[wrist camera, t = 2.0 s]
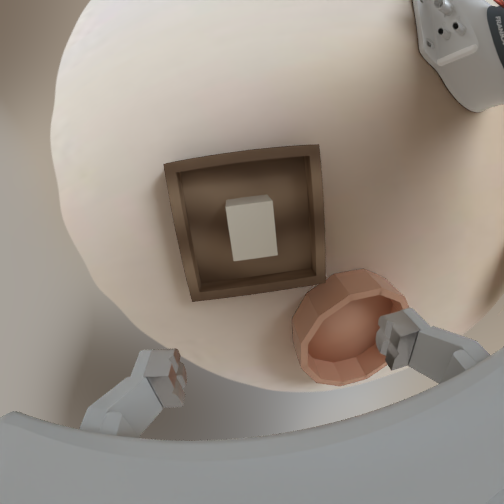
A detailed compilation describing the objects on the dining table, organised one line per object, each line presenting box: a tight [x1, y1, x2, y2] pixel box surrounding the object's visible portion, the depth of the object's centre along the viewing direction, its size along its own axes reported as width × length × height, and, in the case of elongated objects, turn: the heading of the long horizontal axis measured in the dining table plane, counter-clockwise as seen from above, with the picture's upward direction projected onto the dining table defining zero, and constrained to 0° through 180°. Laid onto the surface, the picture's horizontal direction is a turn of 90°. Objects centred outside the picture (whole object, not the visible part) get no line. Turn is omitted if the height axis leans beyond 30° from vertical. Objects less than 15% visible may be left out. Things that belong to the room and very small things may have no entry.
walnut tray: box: [164, 144, 326, 302], centre depth 26 cm, size 14×14×3 cm
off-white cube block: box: [225, 194, 278, 261], centre depth 25 cm, size 5×4×4 cm
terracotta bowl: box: [292, 269, 409, 386], centre depth 31 cm, size 15×15×5 cm
